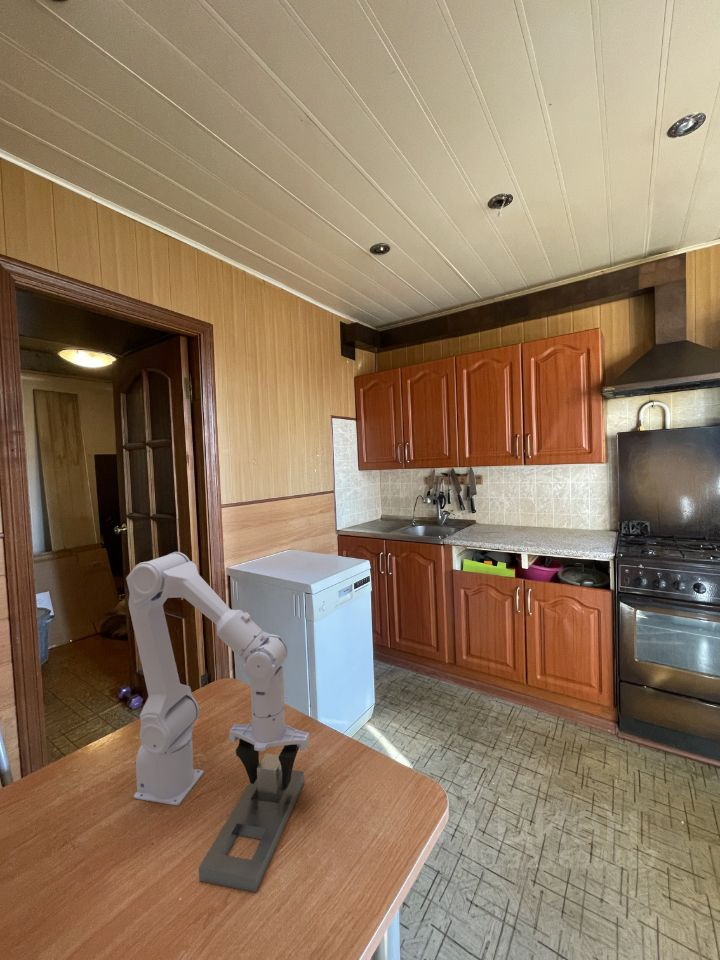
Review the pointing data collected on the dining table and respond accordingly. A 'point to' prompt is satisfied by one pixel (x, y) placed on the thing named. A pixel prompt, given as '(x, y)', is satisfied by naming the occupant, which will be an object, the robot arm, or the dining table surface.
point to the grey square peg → (270, 779)
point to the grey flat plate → (252, 823)
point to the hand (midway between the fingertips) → (270, 781)
